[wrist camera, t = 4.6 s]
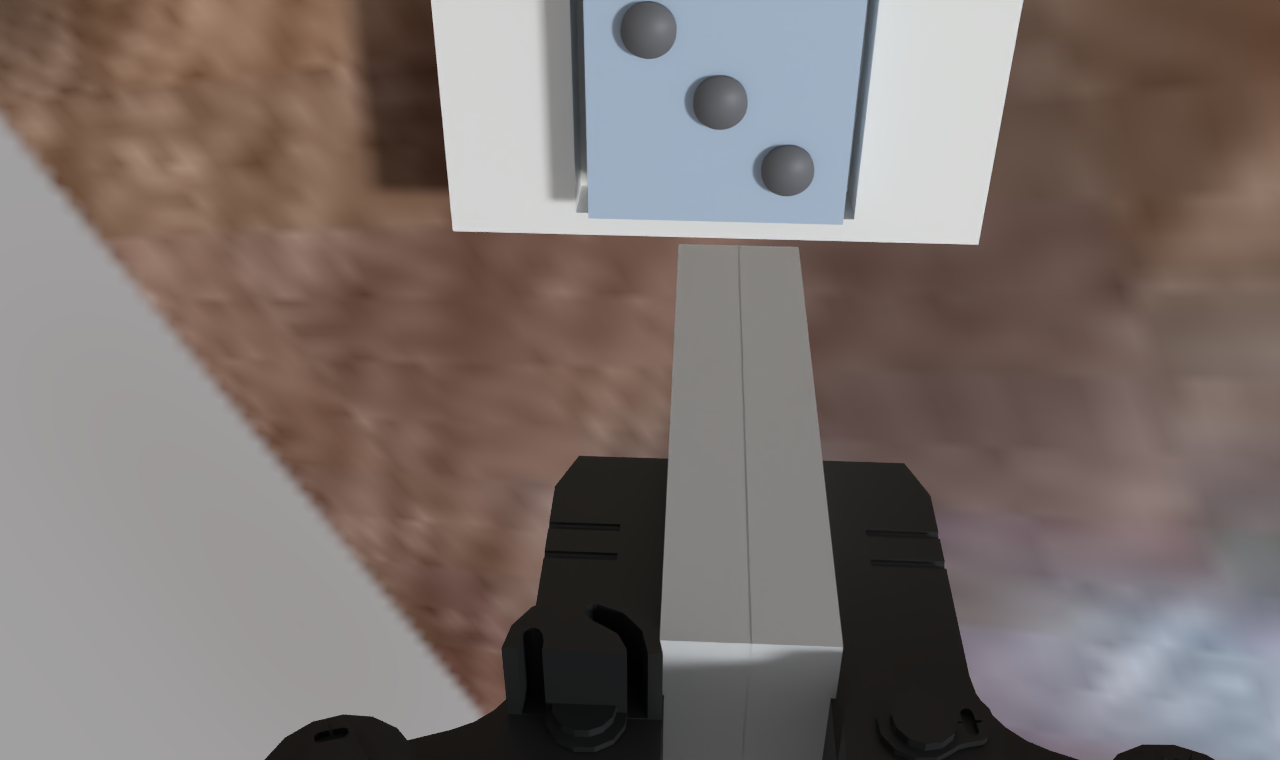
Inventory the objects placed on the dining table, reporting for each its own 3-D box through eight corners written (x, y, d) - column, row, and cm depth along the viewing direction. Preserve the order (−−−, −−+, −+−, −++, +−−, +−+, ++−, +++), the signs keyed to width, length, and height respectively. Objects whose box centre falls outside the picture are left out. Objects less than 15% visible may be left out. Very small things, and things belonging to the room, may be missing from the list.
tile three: (592, -72, 28) (581, -36, 25) (859, -67, 27) (872, -31, 25) (596, 172, 31) (587, 222, 29) (834, 178, 31) (844, 229, 29)
